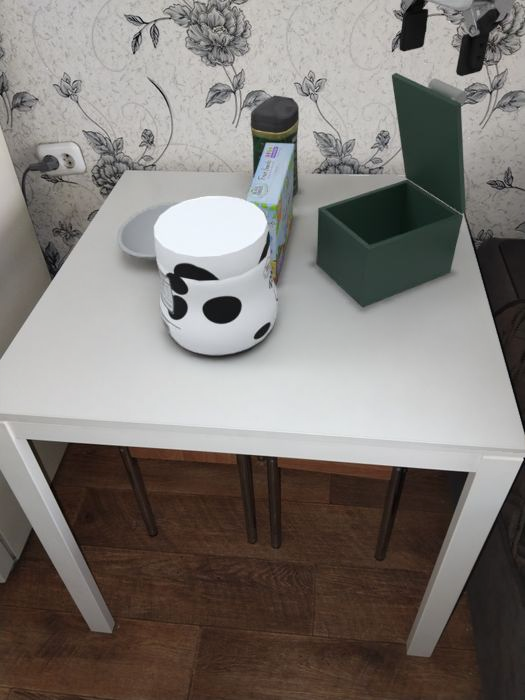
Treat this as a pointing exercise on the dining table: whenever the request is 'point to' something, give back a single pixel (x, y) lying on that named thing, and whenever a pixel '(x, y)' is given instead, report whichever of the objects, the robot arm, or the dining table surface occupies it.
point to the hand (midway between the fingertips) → (438, 60)
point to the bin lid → (432, 137)
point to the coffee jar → (275, 128)
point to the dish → (141, 232)
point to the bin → (386, 241)
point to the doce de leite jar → (215, 274)
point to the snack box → (275, 197)
